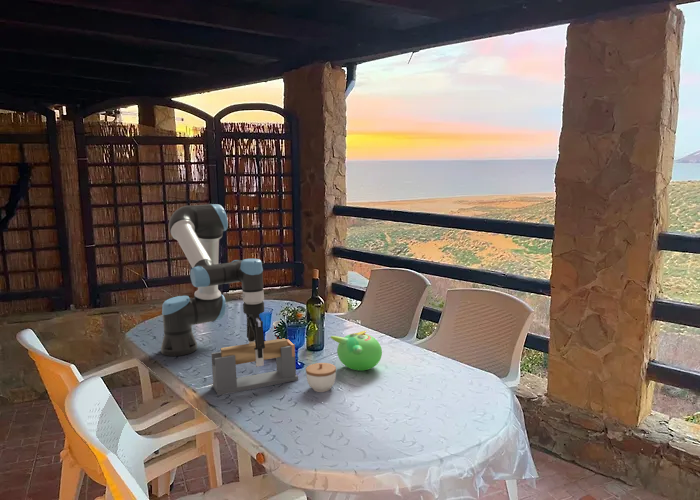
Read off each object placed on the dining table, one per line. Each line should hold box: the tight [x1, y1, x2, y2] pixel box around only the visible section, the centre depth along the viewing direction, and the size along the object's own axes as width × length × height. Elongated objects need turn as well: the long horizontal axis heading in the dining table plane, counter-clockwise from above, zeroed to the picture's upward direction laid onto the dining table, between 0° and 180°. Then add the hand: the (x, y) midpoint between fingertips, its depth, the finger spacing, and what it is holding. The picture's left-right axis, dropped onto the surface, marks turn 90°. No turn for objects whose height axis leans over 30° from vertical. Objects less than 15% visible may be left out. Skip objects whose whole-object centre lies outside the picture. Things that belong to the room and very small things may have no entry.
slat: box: [220, 338, 288, 366], centre depth 201 cm, size 3×24×6 cm, turn 114°
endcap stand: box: [210, 339, 299, 396], centre depth 202 cm, size 9×30×14 cm, turn 115°
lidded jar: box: [305, 362, 337, 393], centre depth 196 cm, size 11×11×9 cm
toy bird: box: [330, 330, 383, 372], centre depth 214 cm, size 18×17×15 cm
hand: (256, 361), depth 202 cm, fingers open, 8 cm apart
